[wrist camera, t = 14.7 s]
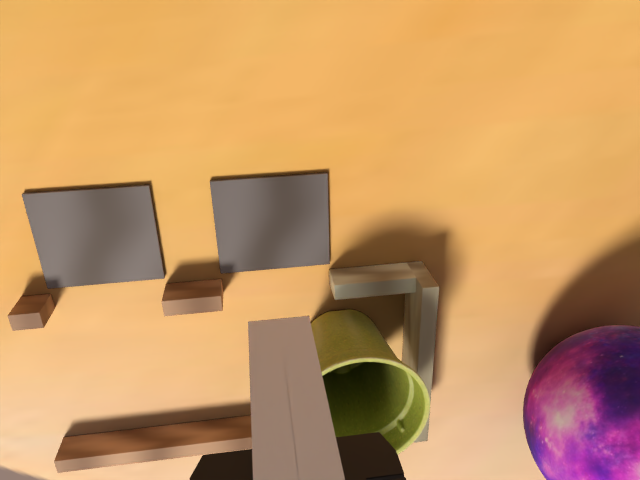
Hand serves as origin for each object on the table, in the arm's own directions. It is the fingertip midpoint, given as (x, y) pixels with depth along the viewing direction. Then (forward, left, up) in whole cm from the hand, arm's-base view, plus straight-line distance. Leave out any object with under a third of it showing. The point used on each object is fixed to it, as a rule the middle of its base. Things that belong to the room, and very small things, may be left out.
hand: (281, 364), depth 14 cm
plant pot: (+13, -12, -25) cm, 30 cm away
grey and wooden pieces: (+5, -13, -24) cm, 28 cm away
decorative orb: (+34, -6, -25) cm, 42 cm away
